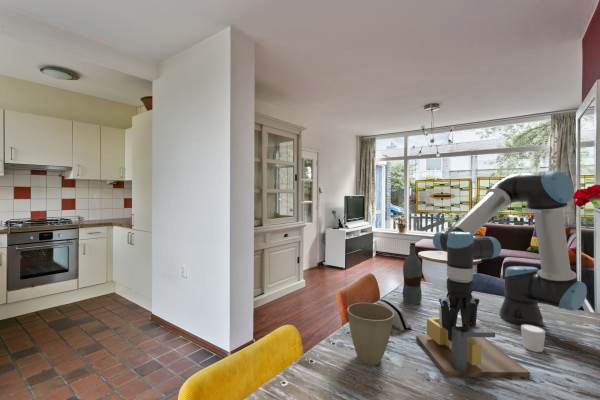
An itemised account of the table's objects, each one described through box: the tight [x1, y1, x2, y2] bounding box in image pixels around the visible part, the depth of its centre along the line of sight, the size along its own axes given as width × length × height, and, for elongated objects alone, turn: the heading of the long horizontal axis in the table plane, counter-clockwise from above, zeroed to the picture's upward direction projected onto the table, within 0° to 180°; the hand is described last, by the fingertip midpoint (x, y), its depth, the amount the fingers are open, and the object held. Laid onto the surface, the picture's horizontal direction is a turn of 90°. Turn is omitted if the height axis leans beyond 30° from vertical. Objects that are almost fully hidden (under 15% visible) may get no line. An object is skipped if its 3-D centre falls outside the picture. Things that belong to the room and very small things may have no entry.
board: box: [415, 335, 531, 378], centre depth 97 cm, size 25×22×2 cm
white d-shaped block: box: [375, 298, 413, 332], centre depth 123 cm, size 17×5×10 cm, turn 17°
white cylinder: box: [520, 324, 547, 353], centre depth 102 cm, size 7×7×7 cm
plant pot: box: [347, 302, 394, 366], centre depth 95 cm, size 15×15×16 cm
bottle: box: [402, 242, 423, 306], centre depth 146 cm, size 9×9×30 cm
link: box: [426, 316, 482, 365], centre depth 97 cm, size 20×8×6 cm, turn 10°
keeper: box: [451, 325, 496, 371], centre depth 87 cm, size 11×4×13 cm, turn 90°
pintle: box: [438, 306, 442, 326], centre depth 103 cm, size 2×2×14 cm
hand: (458, 349), depth 95 cm, fingers closed on link, 3 cm apart
